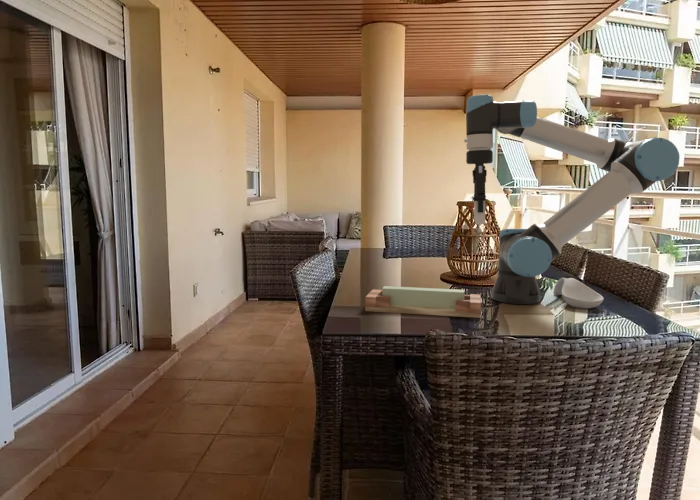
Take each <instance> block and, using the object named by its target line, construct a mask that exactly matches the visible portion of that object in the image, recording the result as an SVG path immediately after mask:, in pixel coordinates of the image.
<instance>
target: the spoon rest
mask: <svg viewBox="0 0 700 500" xmlns="http://www.w3.org/2000/svg"><path fill="white" fill-rule="evenodd" d="M553 295H556V296H557V295H559V296H562V299H563V301H564V302H566V304H568V305H569V306H570V307H572V308H575V309H576V308H577V309H583V310H584V309H593V308H596V307H598V306H600V305H601V304H602V303H603V302H604V299H605V298H604V296H602V294H600V293H598V292H596V291H595V290H594V289H592V288H591V287H589V286H587V285H586V284H585V283H583V282H581V281H579V280H578V279H576V278H574V277H569V278H566V277H561V278H559V279H558V280H557V282H556V284H555V285H554V289H553Z"/></svg>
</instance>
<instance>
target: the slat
mask: <svg viewBox="0 0 700 500" xmlns="http://www.w3.org/2000/svg"><path fill="white" fill-rule="evenodd" d="M381 290H382V296H391V300H390V305H394V306H412V307H429V308H447V309H456V300H464V295H465V289H455V288H454V289H451V288H438V287H437V288H435V287H433V288H431V287H414V286H412V287H411V286H396V285H395V286H392V285H391V286H390V285H384V286H383V287H382V289H381Z"/></svg>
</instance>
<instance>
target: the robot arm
mask: <svg viewBox="0 0 700 500" xmlns="http://www.w3.org/2000/svg"><path fill="white" fill-rule="evenodd" d="M465 112H466V113H465V119H466V123H465V126H466V130H465V131H466V138H465V139H464V140H463V141H464V143H466V150H468V151H466V154H465V155H466V156H465V157H466V160H465V161H466V164H467V165H474V168H473V169H472V172H471V173H472V181H473V182H472V184H474V186H473V189H474V190H473V198H472V199H473V200H472V201H473V220H474V222H475V225H486V197H487V195H486V182H487V169H486V165H485V164H487V165H488V164H492V163H493V161H494V158H493V157H494V153H493V150H492V149H493V148H494V134H493V133H494V130H496V131H497V132H498V133H500V134H503V135H511V136H514V137H517V138H521V139H524V140H527V141H530V142H532V143H535V144H539V145H541V146H544V147H547V148H550V149H552V150H555V151H558V152H560V153H564V154H567V155H570V156H572V157H576V158H579V159H581V160H585V161H587V162H589V163H593V164H595V165H596V167H597V168H598V169H600V170H603V171H605V172H607V173H605V174H604V175H603V176H601V177H600V178H599V179H597V180H596V181H595V182H593V184H592V185H590V186H589V187H588V188H586V189H585V190H584V191H583V192H581V193H580V194H579V195H577V196H576V197H575V198H574V199H572V200H571V201H570V202H568V203H567V204H566V205H565V206H564V207H562V208H561V209H559V210H558V211H557V212H556V213H554V214H552V215H551V217H549V218H547V220H545V221H544V222H542V223H533V224H532V225H530V226H529V227H528V228H504V229H501V230H500V232H499V236H498V263H497V269H498V270H497V277H496V278H495V279H496V280H495V281H494V285H493V287H492V290H491V299H492V300H493V301H496V302H498V303H499V302H500V303H505V304H510V305H511V304H512V305H534V304H538V303H540V302H541V292H540V288H539V285H538V281H537V276H540V275H541V274H544V272H546V271H547V270H548V269H549V268H550V265H551V263H552V262H553V261H554V260H555V259H556V258H557V257H559V256H560V255H561V254H562V250H563V249H562V248H563V247H564V245H566V244H567V243H568V242H570V241H571V240H572V239H574V238H575V237H576V236H578V235H579V234H580V233H582V232H583V231H584V230H586V229H587V228H588V227H589V226H591V225H592V224H594V223H595V222H596V221H598V219H600V218H601V217H603V215H605V214H607V213H608V212H610V210H612V209H613V208H614V207H616V206H617V205H618V204H620V202H622V201H624V200H625V199H627V197H628V196H630V195H632V194H641V193H643V192H644V191H646V190H647V189H648V188H650V187H651V186H652V185H654V184H655V183H657V182H662V181H664V180H667V179H668V178H670V177H672V175H674V173H676V171H677V170H678V167H679V164H680V158H681V157H680V152H679V150H678V148H677V145H675V144H674V143H673V142H672V141H671V140H668V139H667V138H664V137H656V136H655V137H649V138H647V137H646V139H642V140H637V141H624V140H620V139H616V138H613V137H612V138H609V139H605V138H602V137H599V136H596V135H593V134H590V133H587V132H584V131H580V130H578V129H574V128H572V127H570V126H566V125H563V124H561V123H558V122H555V121H551V120H549V119H545V118H542V117H539V116H538V106H537V103H536V101H535V100H524V99H522V100H516V101H515V100H514V101H511V100H510V101H494V97H493V96H492V95H491V94H475V95H471V96H469V97H468V98H467V100H466V111H465Z"/></svg>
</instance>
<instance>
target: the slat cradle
mask: <svg viewBox="0 0 700 500" xmlns="http://www.w3.org/2000/svg"><path fill="white" fill-rule="evenodd" d="M364 298H365V301H364V302H365V303H364V305H365V307H364V308H365V310H364V311H365V312H378V313H391V314H392V313H394V314H407V315H410V314H411V315H412V314H413V315H423V316H424V315H429V316H443V317H445V316H446V317H448V316H449V317H457V318H459V317H462V318H479V319H481V317H482V316H481V315H482V297H481V294H480V293H479V294H478V293H477V294H476V293H469V294H464V300H456V309H447V308H429V307H412V306H394V305H390V300H391V296H382V289H380V288H379V289H377V288H373V289H372V290H371V291H370V292H368V294H367V295H366V296H365V297H364Z"/></svg>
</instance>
